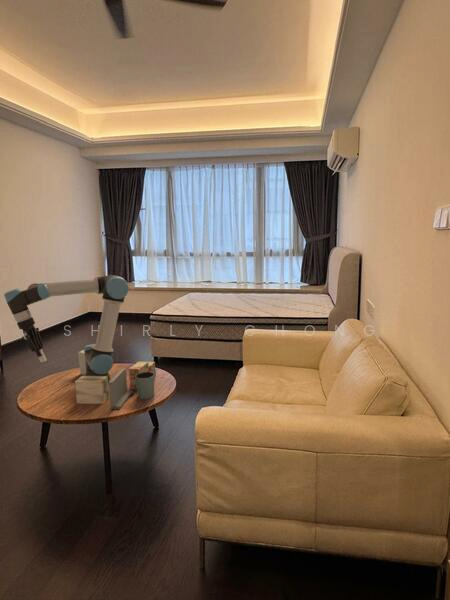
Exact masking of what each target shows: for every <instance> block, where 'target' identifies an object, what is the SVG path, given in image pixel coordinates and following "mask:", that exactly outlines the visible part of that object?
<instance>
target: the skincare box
mask: <svg viewBox="0 0 450 600" xmlns="http://www.w3.org/2000/svg"><path fill="white" fill-rule="evenodd" d="M77 355H78V356H77V357H78V365H79V370H80V371H79V372H80V375H82V376H85V373H86V364H85V352H84V349H83V350H80V351H78V352H77Z"/></svg>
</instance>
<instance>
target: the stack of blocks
mask: <svg viewBox="0 0 450 600" xmlns="http://www.w3.org/2000/svg"><path fill="white" fill-rule="evenodd" d="M128 372H129V374H128V376H129V389H130V390H137V385H136V380H135V375H136V374H138V373H141V372H153V373H154V374H155V377H157V376H156V375H157V373H156V372H157V371H156V362H155V361H137V362H136V363H135V364H134V365H132V366H130V367H129V368H128Z"/></svg>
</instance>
